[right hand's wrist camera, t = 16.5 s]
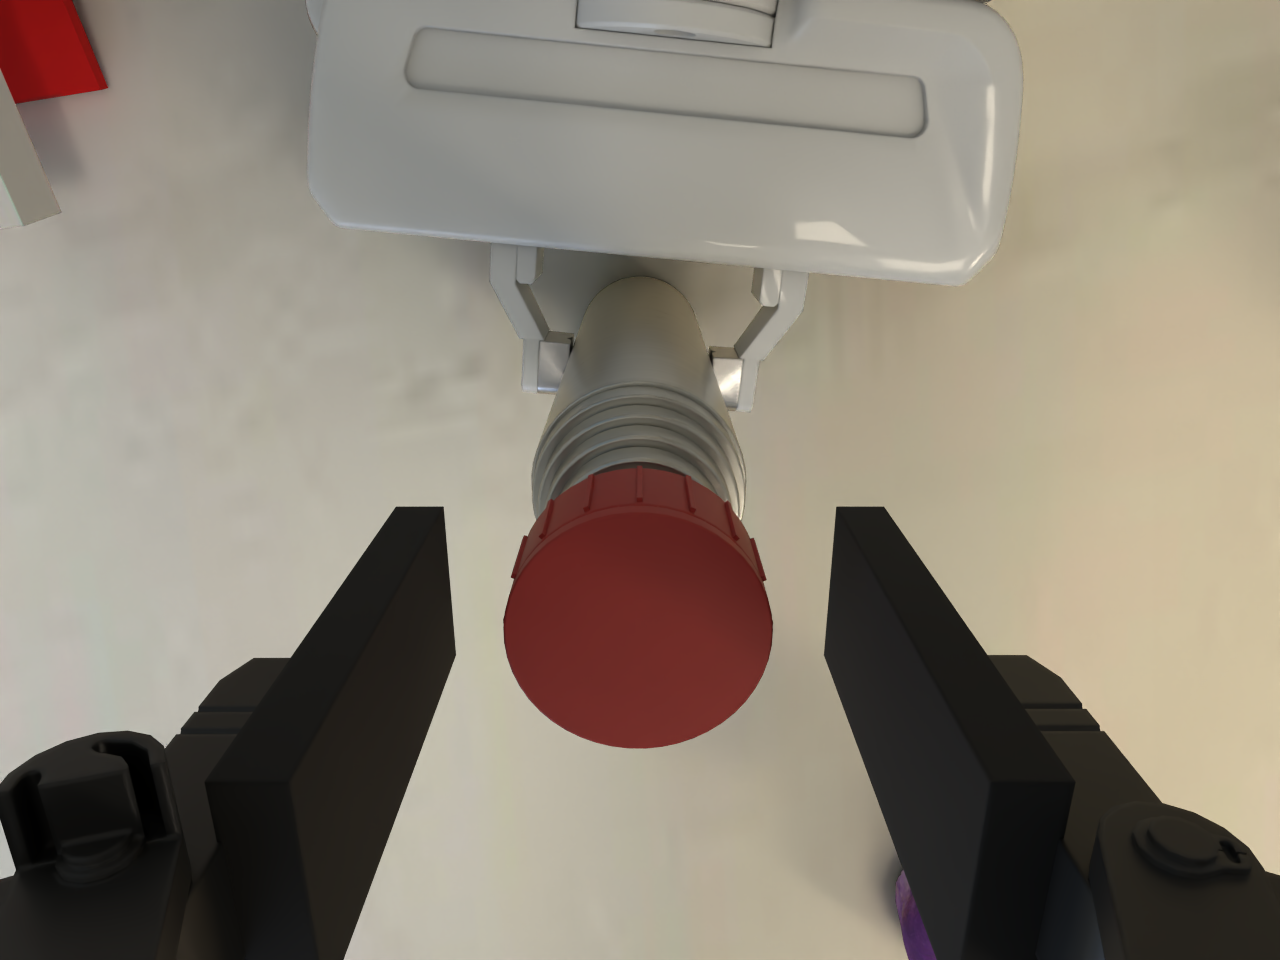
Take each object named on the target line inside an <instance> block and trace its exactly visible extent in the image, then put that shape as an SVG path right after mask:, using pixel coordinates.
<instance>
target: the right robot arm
mask: <svg viewBox="0 0 1280 960" xmlns="http://www.w3.org/2000/svg"><path fill="white" fill-rule="evenodd" d="M455 656H456V650H455V638H454V626H453V614H452V602H451V590H450V578H449V566H448V554H447V542H446V530H445V518H444V507H396V508H395V509H394V510H393V512H392V513H391V515H390V516H389V518H388V519H387V520H386V522H385V523H384V525H383V526H382V528H381V529H380V531H379V532H378V533H377V535H376V536H375V538H374V539H373V541H372V542H371V543H370V545H369V546H368V548H367V549H366V551H365V552H364V553H363V555H362V556H361V558H360V559H359V561H358V562H357V564H356V565H355V566H354V568H353V569H352V571H351V572H350V574H349V575H348V576H347V578H346V579H345V581H344V582H343V584H342V585H341V586H340V588H339V589H338V591H337V592H336V594H335V595H334V597H333V598H332V599H331V601H330V602H329V604H328V605H327V607H326V608H325V609H324V611H323V612H322V614H321V615H320V617H319V618H318V619H317V621H316V622H315V624H314V625H313V627H312V628H311V629H310V631H309V632H308V634H307V635H306V637H305V638H304V640H303V641H302V642H301V644H300V645H299V647H298V648H297V650H296V651H295V652H294V654H293V655H292V657H291V658H253V659H252V660H250V661H249V662H247V663H245V664H244V665H242V666H241V667H239V668H238V669H236V670H235V671H233V672H232V673H230V674H229V675H227V676H226V677H224V678H223V679H221V680H220V681H219V682H218V683H217V684H216V686H215V687H214V688H213V689H212V691H211V692H210V693H209V694H208V696H207V697H206V698H205V699H204V701H203V702H202V703H201V704H200V706H199V710H198V712H194V713H193V714H192V716H191V717H190V718H189V719H188V721H187V722H186V723H185V724H184V726H183V727H182V728H181V734H176V736H175V737H174V738H173V739H172V741H171V742H170V743H169V744H168V746H167V747H166V748H165V749H164V746H163V745H162V744H161V743H159V742H158V741H157V740H156V739H155V738H153V737H152V736H151V735H147V734H142V733H137V732H132V731H117V732H103V733H96V734H92V735H89V736H85V737H81V738H77V739H73V740H70V741H66V742H64V743H62V744H59V745H57V746H55V747H53V748H51V749H48V750H46V751H44V752H42V753H39V754H37V755H35V756H34V757H32V758H31V759H29V760H28V761H26V762H25V763H23V764H22V765H21V766H19V767H18V768H16V769H15V770H13V771H12V772H10V773H9V774H8V775H7V776H6V778H5V779H4V780H3V781H2V782H1V784H0V820H1V823H2V827H3V830H4V833H5V836H6V839H7V842H8V846H9V849H10V852H11V855H12V858H13V862H14V865H15V868H16V872H15V874H14V876H10V877H7V878H4V879H0V960H343V959H344V957H345V954H346V951H347V949H348V946H349V943H350V941H351V938H352V935H353V932H354V930H355V927H356V924H357V922H358V919H359V916H360V913H361V911H362V908H363V905H364V903H365V900H366V897H367V894H368V892H369V889H370V886H371V884H372V881H373V878H374V876H375V873H376V870H377V867H378V865H379V862H380V859H381V857H382V854H383V851H384V848H385V846H386V843H387V840H388V838H389V835H390V832H391V830H392V827H393V824H394V821H395V819H396V816H397V813H398V811H399V808H400V805H401V802H402V800H403V797H404V794H405V792H406V789H407V786H408V784H409V781H410V778H411V775H412V773H413V770H414V767H415V765H416V762H417V759H418V756H419V754H420V751H421V748H422V746H423V743H424V740H425V738H426V735H427V732H428V729H429V727H430V724H431V721H432V719H433V716H434V713H435V710H436V708H437V705H438V702H439V700H440V697H441V694H442V691H443V689H444V686H445V683H446V681H447V678H448V675H449V673H450V670H451V667H452V664H453V662H454V659H455ZM824 656H825V659H826V662H827V664H828V667H829V670H830V673H831V675H832V678H833V681H834V683H835V686H836V689H837V691H838V694H839V697H840V700H841V702H842V705H843V708H844V710H845V713H846V716H847V719H848V721H849V724H850V727H851V729H852V732H853V735H854V738H855V740H856V743H857V746H858V748H859V751H860V754H861V756H862V759H863V762H864V765H865V767H866V770H867V773H868V775H869V778H870V781H871V784H872V786H873V789H874V792H875V794H876V797H877V800H878V802H879V805H880V808H881V811H882V813H883V816H884V819H885V821H886V824H887V827H888V830H889V832H890V835H891V838H892V840H893V843H894V846H895V848H896V851H897V854H898V857H899V859H900V862H901V865H902V867H903V870H904V873H905V876H906V878H907V881H908V884H909V886H910V889H911V892H912V894H913V897H914V900H915V903H916V905H917V908H918V911H919V913H920V916H921V919H922V922H923V924H924V927H925V930H926V932H927V935H928V938H929V941H930V943H931V946H932V949H933V951H934V954H935V957H936V959H937V960H1280V875H1276V874H1273V873H1269V872H1266V871H1265V870H1264V868H1263V867H1262V865H1261V864H1260V863H1259V861H1258V860H1257V858H1256V857H1255V856H1254V854H1253V853H1252V851H1251V850H1250V849H1249V847H1247V846H1246V845H1245V844H1244V843H1242V842H1241V841H1240V840H1239V839H1237V838H1236V837H1235V836H1234V835H1232V834H1231V833H1230V832H1229V831H1227V830H1226V829H1225V828H1223V827H1221V826H1219V825H1217V824H1216V823H1214V822H1212V821H1210V820H1208V819H1206V818H1204V817H1202V816H1200V815H1198V814H1196V813H1194V812H1191V811H1187V810H1184V809H1181V808H1177V807H1174V806H1170V805H1167V804H1164V803H1162V802H1161V801H1160V800H1159V798H1158V797H1157V796H1156V795H1155V793H1154V792H1153V791H1152V790H1151V789H1150V787H1149V786H1148V785H1147V784H1146V782H1145V781H1144V780H1143V779H1142V777H1141V776H1140V775H1139V774H1138V772H1137V771H1136V770H1135V769H1134V767H1133V766H1132V765H1131V764H1130V763H1129V761H1128V760H1127V759H1126V758H1125V756H1124V755H1123V754H1122V753H1121V751H1120V750H1119V749H1118V748H1117V746H1116V745H1115V744H1114V743H1113V742H1112V740H1111V739H1110V738H1109V737H1108V735H1107V734H1106V733H1105V732H1104V731H1100V725H1099V724H1098V723H1097V722H1096V720H1095V719H1094V718H1093V717H1092V716H1091V714H1090V713H1089V712H1088V711H1087V709H1082V703H1081V702H1080V701H1079V699H1078V698H1077V697H1076V696H1075V694H1074V693H1073V692H1072V691H1071V690H1070V688H1069V687H1068V686H1067V685H1066V683H1065V682H1064V681H1063V680H1062V678H1061V677H1059V676H1058V675H1056V674H1055V673H1053V672H1052V671H1050V670H1048V669H1047V668H1045V667H1044V666H1042V665H1041V664H1039V663H1038V662H1036V661H1035V660H1033V659H1032V658H1030V657H1029V656H1027V655H987V654H986V652H985V651H984V650H983V648H982V647H981V645H980V644H979V642H978V641H977V640H976V638H975V637H974V635H973V634H972V632H971V631H970V629H969V628H968V627H967V625H966V624H965V622H964V621H963V619H962V618H961V617H960V615H959V614H958V612H957V611H956V609H955V608H954V607H953V605H952V604H951V602H950V601H949V599H948V598H947V597H946V595H945V594H944V592H943V591H942V589H941V588H940V586H939V585H938V584H937V582H936V581H935V579H934V578H933V576H932V575H931V574H930V572H929V571H928V569H927V568H926V566H925V565H924V564H923V562H922V561H921V559H920V558H919V556H918V555H917V553H916V552H915V551H914V549H913V548H912V546H911V545H910V543H909V542H908V541H907V539H906V538H905V536H904V535H903V533H902V532H901V531H900V529H899V528H898V526H897V525H896V523H895V522H894V520H893V519H892V518H891V516H890V515H889V513H888V512H887V510H886V509H885V508H884V507H836V518H835V530H834V542H833V554H832V566H831V578H830V590H829V602H828V614H827V626H826V638H825V650H824Z"/></svg>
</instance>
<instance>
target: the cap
mask: <svg viewBox="0 0 1280 960" xmlns="http://www.w3.org/2000/svg"><path fill="white" fill-rule="evenodd" d="M511 578H513V579H514V581H513V585H512V588H511V591H510V595H509V598H508V602H507V606H506V610H505V616H504V619H503V623H504V644H505V649H506V654H507V658H508V661H509V664H510V667H511V670H512V672H513V674H514V676H515V678H516V680H517V682H518V684H519V686H520V687H521V689H522V690H523V691H524V693H525V694H526V696H527V697H528V699H529V700H530V701H531V702H532V703H533V704H534V705H535V706H536V707H537V708H538V709H539V711H541V712H542V713H543V714H544V715H545V716H547V717H548V718H549V719H550V720H551V721H553V722H554V723H556V724H557V725H559V726H560V727H562V728H564V729H565V730H567V731H569V732H571V733H573V734H575V735H577V736H579V737H582V738H584V739H587V740H590V741H593V742H596V743H600V744H604V745H609V746H614V747H622V748H654V747H663V746H668V745H672V744H677V743H680V742H683V741H686V740H689V739H692V738H695V737H697V736H699V735H701V734H703V733H706V732H708V731H710V730H711V729H713V728H714V727H716V726H718V725H719V724H721V723H722V722H724V721H725V720H726V719H727V718H729V717H730V716H731V715H732V714H734V713H735V712H736V711H737V710H738V709H739V708H740V707H741V706H742V705H743V704H744V703H745V702H746V700H747V699H748V698H749V696H750V695H751V694H752V692H753V691H754V689H755V688H756V686H757V684H758V682H759V681H760V679H761V677H762V675H763V673H764V670H765V668H766V665H767V662H768V659H769V655H770V651H771V646H772V634H773V620H772V614H771V609H770V605H769V601H768V597H767V594H766V590H765V587H764V583H763V581H765V580H766V576H765V573H764V570H763V566H762V563H761V560H760V556H759V553H758V550H757V546H756V543H755V540H754V538H751V539H750V538H749V535H748V533H747V531H746V529H745V527H744V526H743V524H742V522H741V520H740V519H739V518H738V516H737V515H736V514H735V513H734V511H733V510H732V507H731V503H730V502H729V501H728V500H727V501H726V502H724V501H723V500H722V499H721V498H720V497H719V496H717V495H716V494H715V493H713V492H712V491H711V490H709V489H708V488H706V487H705V486H703V485H701V484H699V483H697V482H696V481H694V480H692V479H691V476H689V475H686V476H685V477H684V476H681V475H679V474H675V473H671V472H667V471H663V470H656V469H648V468H642V466H637V468H630V469H621V470H614V471H610V472H606V473H601V474H598V475H596V476H594V475H593V474H590V475H588V479H585V480H583V481H581V482H579V483H577V484H576V485H574V486H572V487H570V488H569V489H567V490H566V491H565V492H563V493H562V494H560V495H559V496H558V497H557V498H556V499H555V500H553V499H550V500H549V501H548V503H547V507H546V509H545V510H544V511H543V512H542V513H541V515H540V516H539V517H538V519H537V520H536V522H535V524H534V525H533V527H532V529H531V530H530V532H529V535H528V537H527V536H525V535H524V537H523V539H522V542H521V546H520V549H519V552H518V555H517V559H516V562H515V565H514V568H513V572H512V575H511Z"/></svg>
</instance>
